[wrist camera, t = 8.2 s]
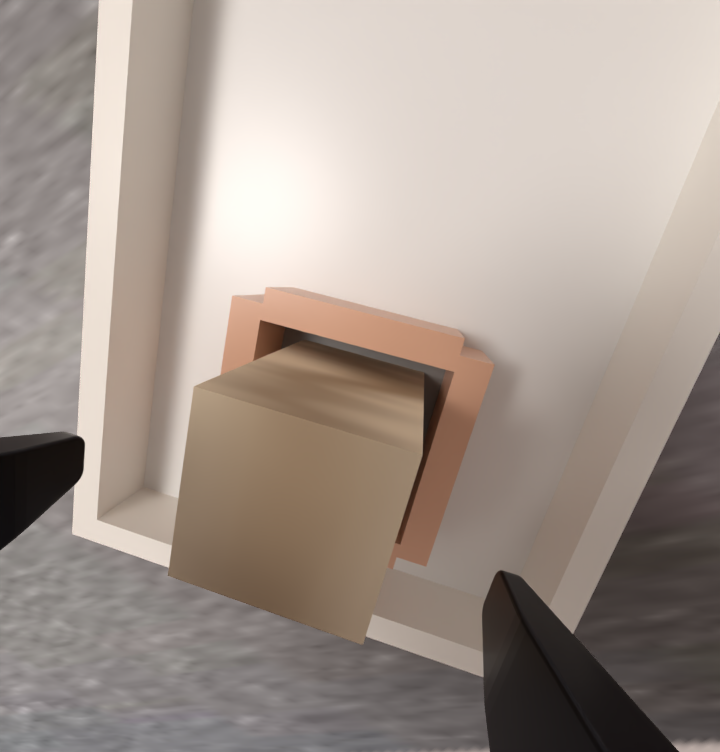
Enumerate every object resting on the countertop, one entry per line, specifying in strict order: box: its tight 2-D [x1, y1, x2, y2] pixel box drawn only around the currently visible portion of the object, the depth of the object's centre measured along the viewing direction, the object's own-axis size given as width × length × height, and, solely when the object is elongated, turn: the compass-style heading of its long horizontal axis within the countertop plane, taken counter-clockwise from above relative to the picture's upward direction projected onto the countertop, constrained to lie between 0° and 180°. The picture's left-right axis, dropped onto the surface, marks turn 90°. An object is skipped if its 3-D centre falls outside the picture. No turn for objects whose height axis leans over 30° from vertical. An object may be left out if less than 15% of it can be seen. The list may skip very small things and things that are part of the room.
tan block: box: [168, 339, 424, 645], centre depth 11 cm, size 4×4×7 cm
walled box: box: [72, 0, 720, 677], centre depth 12 cm, size 18×24×3 cm
